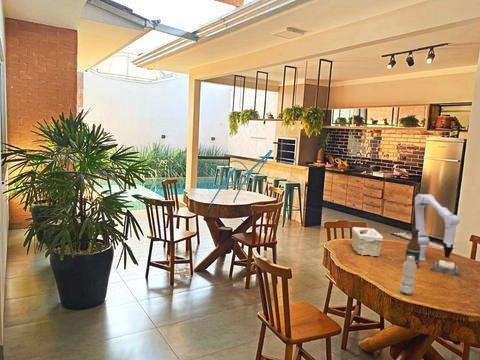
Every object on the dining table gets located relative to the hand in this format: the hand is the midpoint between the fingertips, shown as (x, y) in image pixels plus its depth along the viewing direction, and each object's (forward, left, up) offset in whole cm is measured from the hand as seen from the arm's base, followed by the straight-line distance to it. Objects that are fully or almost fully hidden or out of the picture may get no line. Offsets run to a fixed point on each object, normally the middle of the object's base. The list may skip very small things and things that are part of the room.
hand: (446, 255), depth 226 cm
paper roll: (0, -2, -8) cm, 8 cm away
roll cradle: (0, -2, -9) cm, 9 cm away
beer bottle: (-19, -7, -10) cm, 22 cm away
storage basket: (-49, +5, -10) cm, 50 cm away
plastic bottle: (-18, -56, -10) cm, 59 cm away
